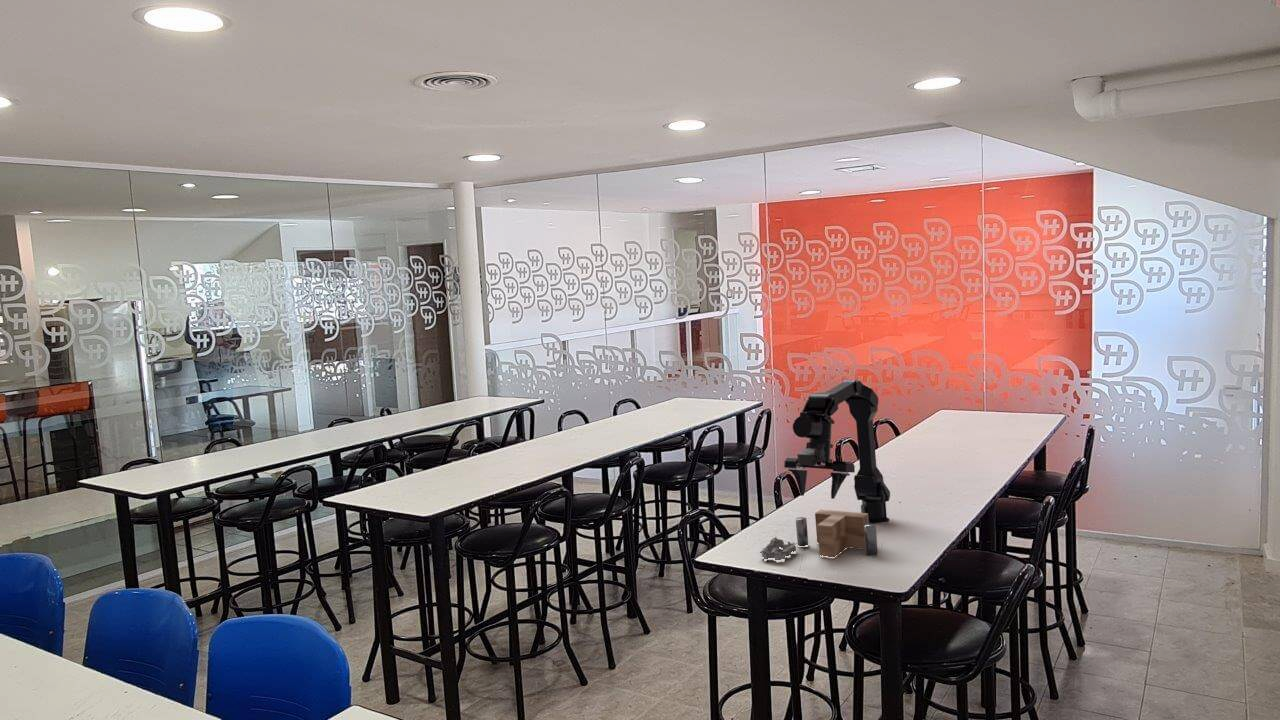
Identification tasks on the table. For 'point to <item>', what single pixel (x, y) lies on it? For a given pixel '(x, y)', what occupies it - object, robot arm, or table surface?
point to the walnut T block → (840, 531)
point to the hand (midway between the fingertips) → (817, 497)
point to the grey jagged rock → (774, 551)
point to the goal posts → (869, 535)
